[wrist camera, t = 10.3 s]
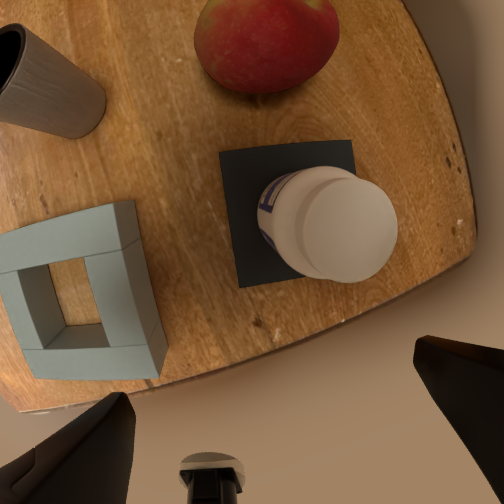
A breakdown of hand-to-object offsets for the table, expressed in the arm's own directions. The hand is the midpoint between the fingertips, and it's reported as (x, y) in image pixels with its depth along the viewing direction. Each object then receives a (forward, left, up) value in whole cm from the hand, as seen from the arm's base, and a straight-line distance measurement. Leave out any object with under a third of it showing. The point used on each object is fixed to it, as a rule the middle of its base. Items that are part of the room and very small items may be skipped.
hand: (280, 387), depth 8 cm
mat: (+3, -4, -13) cm, 14 cm away
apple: (+14, -3, -13) cm, 19 cm away
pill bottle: (+3, -4, -12) cm, 13 cm away
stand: (0, +12, -13) cm, 17 cm away
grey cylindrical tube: (+13, +10, -13) cm, 21 cm away
